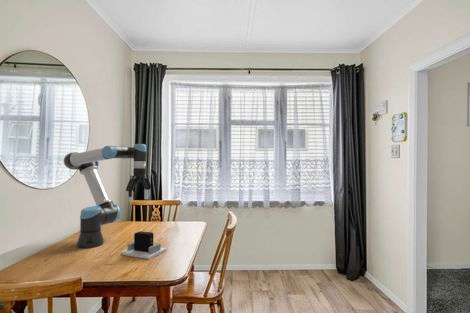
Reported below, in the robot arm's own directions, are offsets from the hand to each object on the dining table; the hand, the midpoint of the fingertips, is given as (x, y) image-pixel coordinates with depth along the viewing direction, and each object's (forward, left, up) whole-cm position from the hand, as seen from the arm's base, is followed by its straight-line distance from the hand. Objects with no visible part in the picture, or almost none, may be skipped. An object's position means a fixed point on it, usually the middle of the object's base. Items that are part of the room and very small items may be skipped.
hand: (138, 200), depth 178 cm
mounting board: (+16, -13, -28) cm, 34 cm away
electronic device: (+16, -14, -26) cm, 34 cm away
